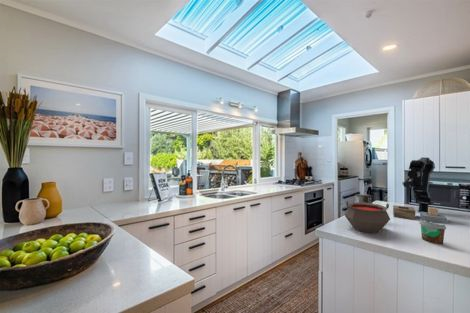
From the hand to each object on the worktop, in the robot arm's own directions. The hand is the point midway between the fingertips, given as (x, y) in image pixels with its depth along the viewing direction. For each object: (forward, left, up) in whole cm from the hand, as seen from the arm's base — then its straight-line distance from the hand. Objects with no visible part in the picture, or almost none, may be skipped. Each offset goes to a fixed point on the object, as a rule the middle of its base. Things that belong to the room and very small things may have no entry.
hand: (416, 198), depth 164 cm
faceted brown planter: (+54, -29, -12) cm, 63 cm away
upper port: (+8, -8, -12) cm, 16 cm away
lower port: (+8, +8, -12) cm, 16 cm away
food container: (+57, -1, -12) cm, 58 cm away
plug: (+8, +8, -11) cm, 16 cm away
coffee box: (+29, -32, -12) cm, 45 cm away
